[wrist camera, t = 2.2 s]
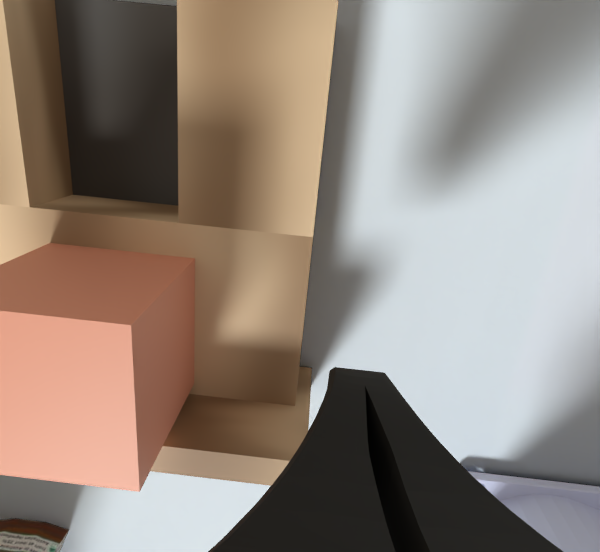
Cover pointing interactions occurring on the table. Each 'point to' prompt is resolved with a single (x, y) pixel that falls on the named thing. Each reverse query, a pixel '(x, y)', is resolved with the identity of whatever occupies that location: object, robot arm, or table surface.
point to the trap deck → (183, 185)
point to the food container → (30, 536)
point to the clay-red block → (92, 362)
